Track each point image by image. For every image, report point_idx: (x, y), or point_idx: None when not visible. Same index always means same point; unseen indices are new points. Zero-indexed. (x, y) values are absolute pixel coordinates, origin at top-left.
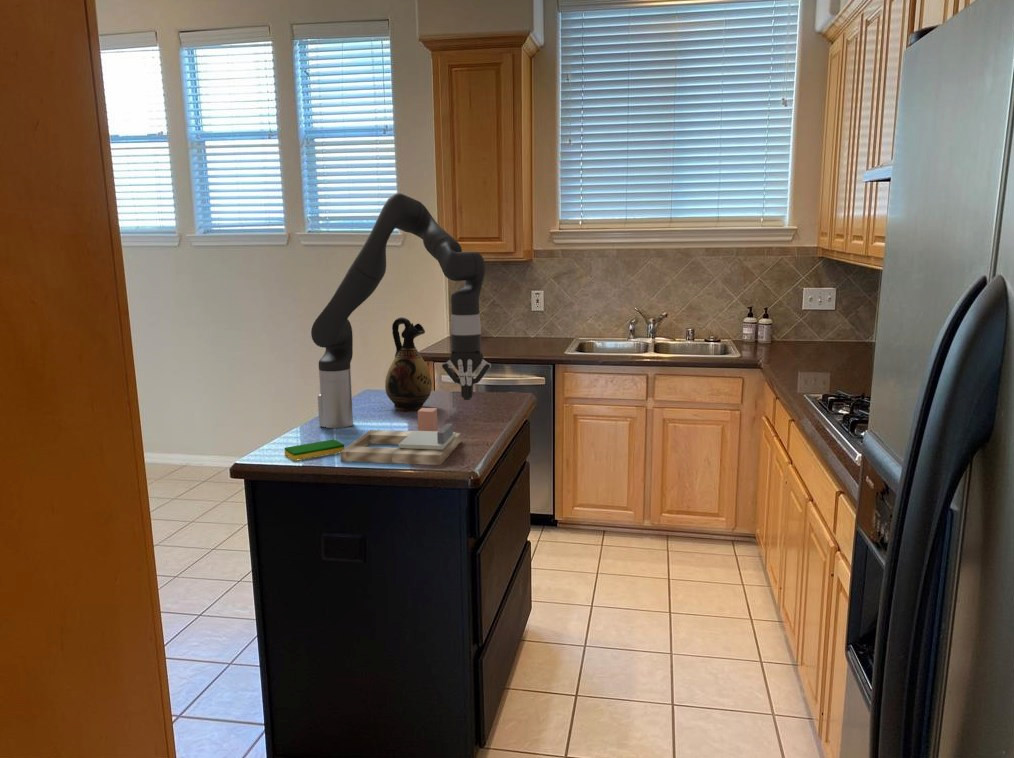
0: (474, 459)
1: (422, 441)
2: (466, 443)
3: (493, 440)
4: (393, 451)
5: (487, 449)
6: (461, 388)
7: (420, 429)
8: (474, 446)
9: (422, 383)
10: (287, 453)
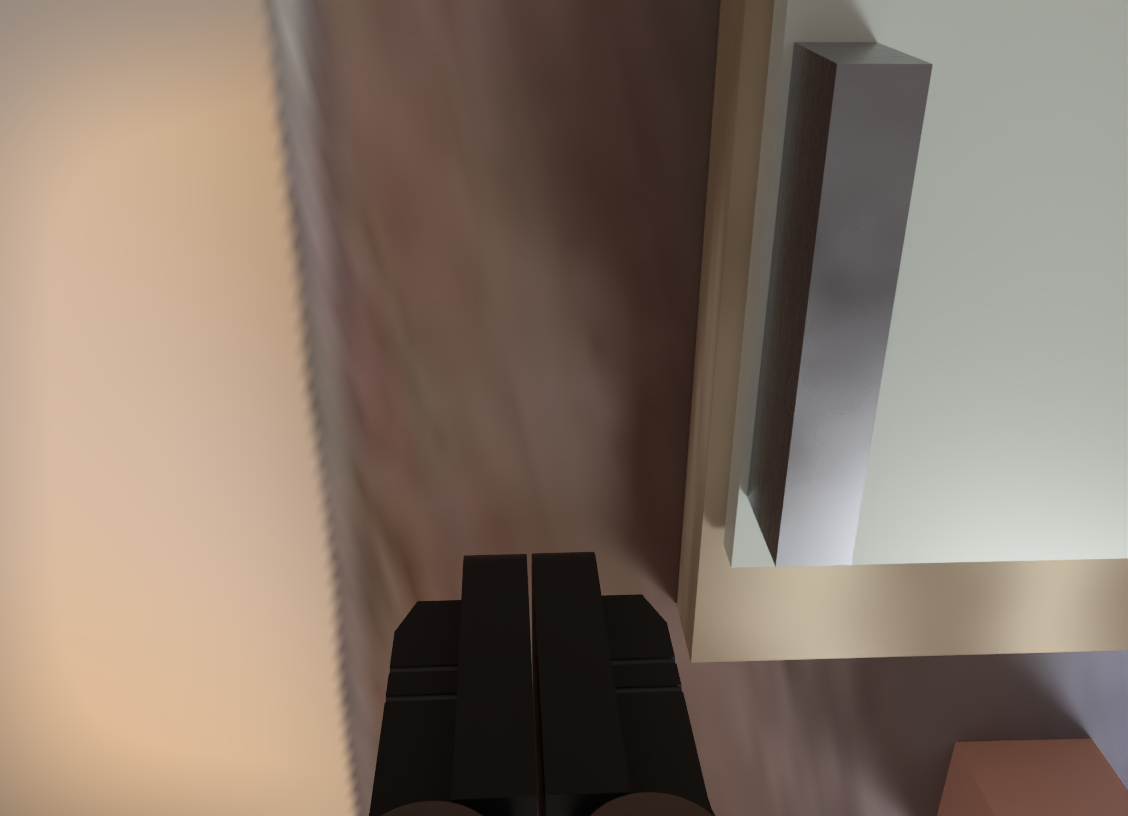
0: (391, 17)
1: (1083, 114)
2: (615, 568)
3: (386, 685)
4: None
5: (358, 410)
6: (690, 758)
7: (1097, 778)
8: (515, 488)
9: None
10: None
